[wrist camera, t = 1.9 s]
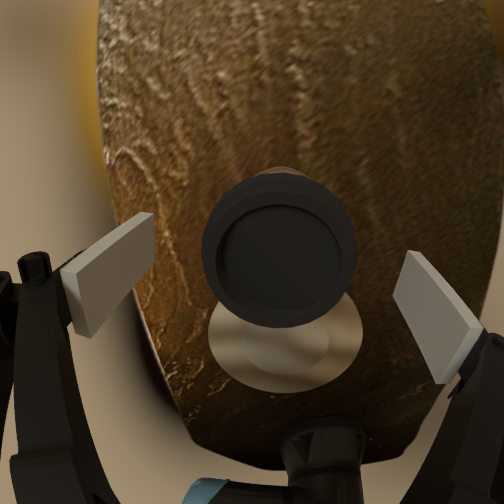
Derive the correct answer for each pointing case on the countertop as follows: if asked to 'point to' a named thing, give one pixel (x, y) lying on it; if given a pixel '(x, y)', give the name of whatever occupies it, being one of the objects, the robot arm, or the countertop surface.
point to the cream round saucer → (287, 349)
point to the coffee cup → (279, 249)
